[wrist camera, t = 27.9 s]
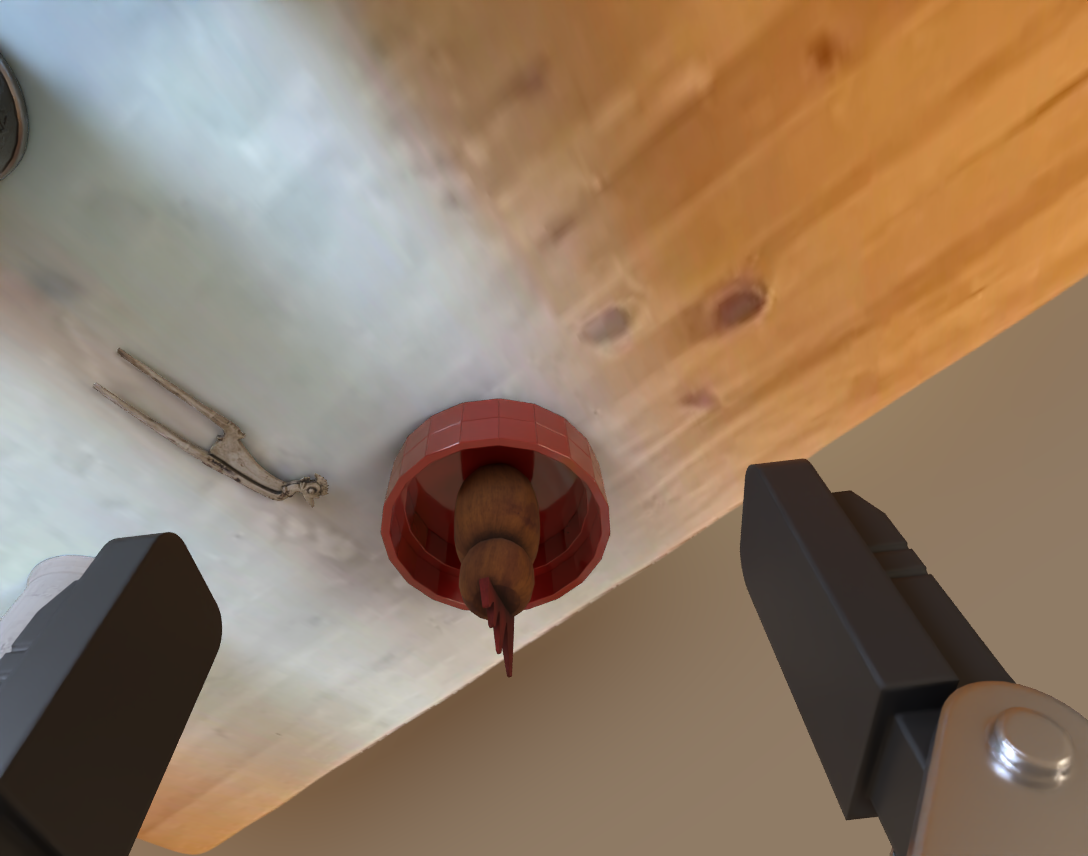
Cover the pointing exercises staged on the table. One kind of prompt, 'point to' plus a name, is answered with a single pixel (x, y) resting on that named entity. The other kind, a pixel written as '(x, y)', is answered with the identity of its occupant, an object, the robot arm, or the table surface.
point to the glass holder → (40, 594)
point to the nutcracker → (223, 447)
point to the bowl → (481, 439)
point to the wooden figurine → (497, 548)
